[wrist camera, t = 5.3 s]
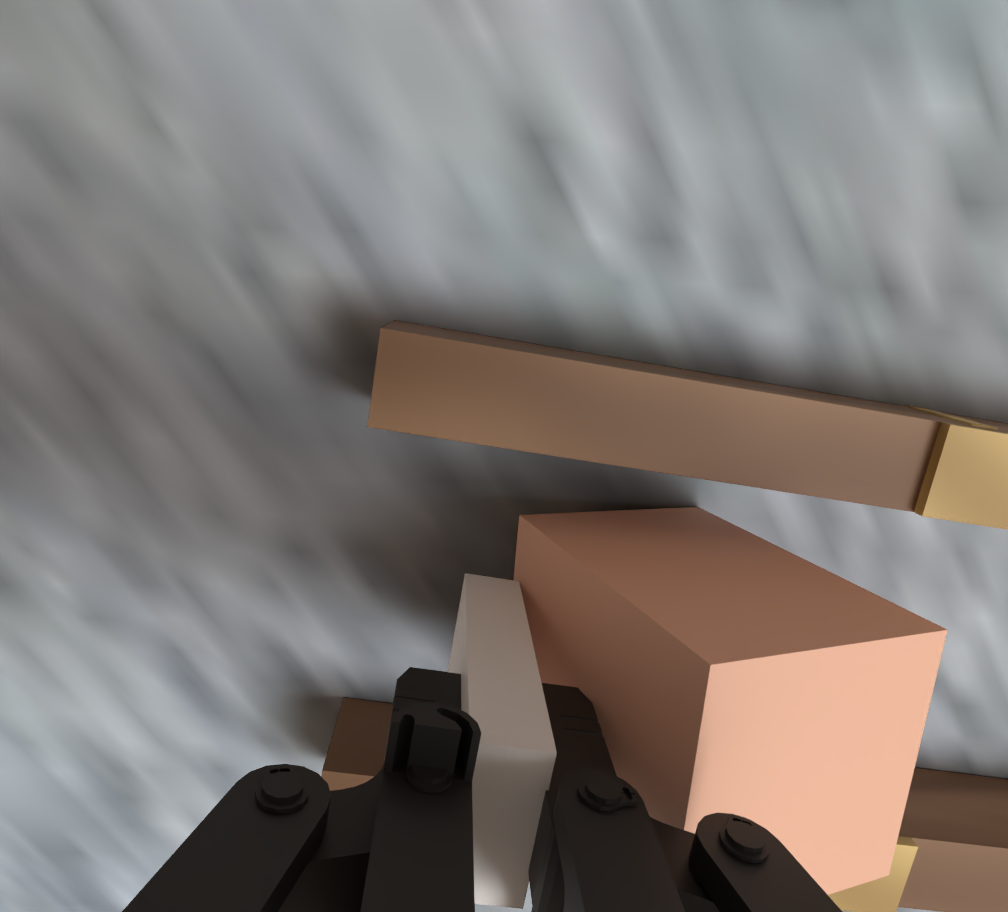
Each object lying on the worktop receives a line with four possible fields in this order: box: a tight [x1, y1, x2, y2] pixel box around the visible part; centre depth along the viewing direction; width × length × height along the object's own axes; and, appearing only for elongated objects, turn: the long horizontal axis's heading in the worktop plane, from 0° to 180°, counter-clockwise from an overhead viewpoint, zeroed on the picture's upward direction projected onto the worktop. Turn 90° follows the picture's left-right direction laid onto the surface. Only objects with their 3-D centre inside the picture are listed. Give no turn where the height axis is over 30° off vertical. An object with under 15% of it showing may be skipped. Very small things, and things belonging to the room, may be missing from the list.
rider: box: [513, 507, 947, 895], centre depth 15 cm, size 5×5×7 cm
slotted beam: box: [322, 320, 1008, 912], centre depth 18 cm, size 12×26×3 cm, turn 80°
